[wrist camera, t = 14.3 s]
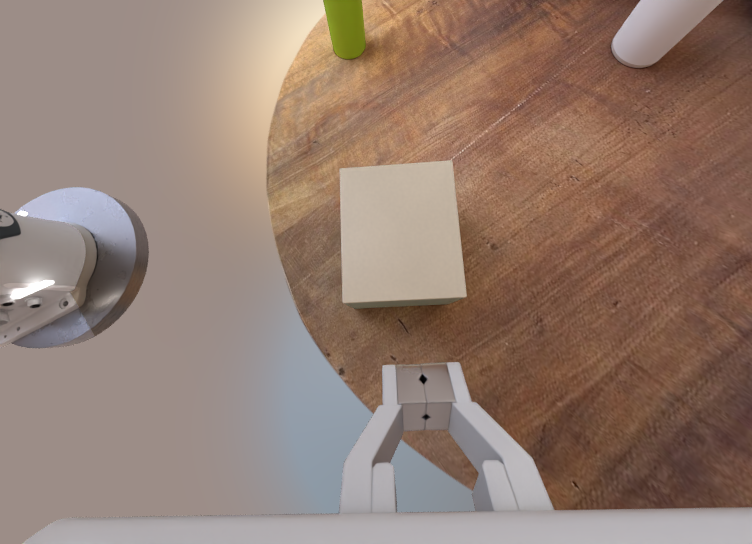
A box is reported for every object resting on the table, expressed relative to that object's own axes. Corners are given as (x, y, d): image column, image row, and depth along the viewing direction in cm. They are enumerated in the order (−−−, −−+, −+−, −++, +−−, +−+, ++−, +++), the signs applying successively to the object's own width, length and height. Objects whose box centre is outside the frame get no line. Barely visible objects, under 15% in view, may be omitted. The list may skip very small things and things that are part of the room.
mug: (664, 73, 44) (746, -2, 34) (606, 68, 45) (669, -8, 35) (664, 19, 46) (741, -67, 36) (608, 15, 47) (668, -71, 37)
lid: (340, 171, 34) (339, 168, 33) (450, 163, 33) (452, 160, 32) (343, 303, 31) (342, 303, 30) (465, 297, 30) (467, 297, 29)
